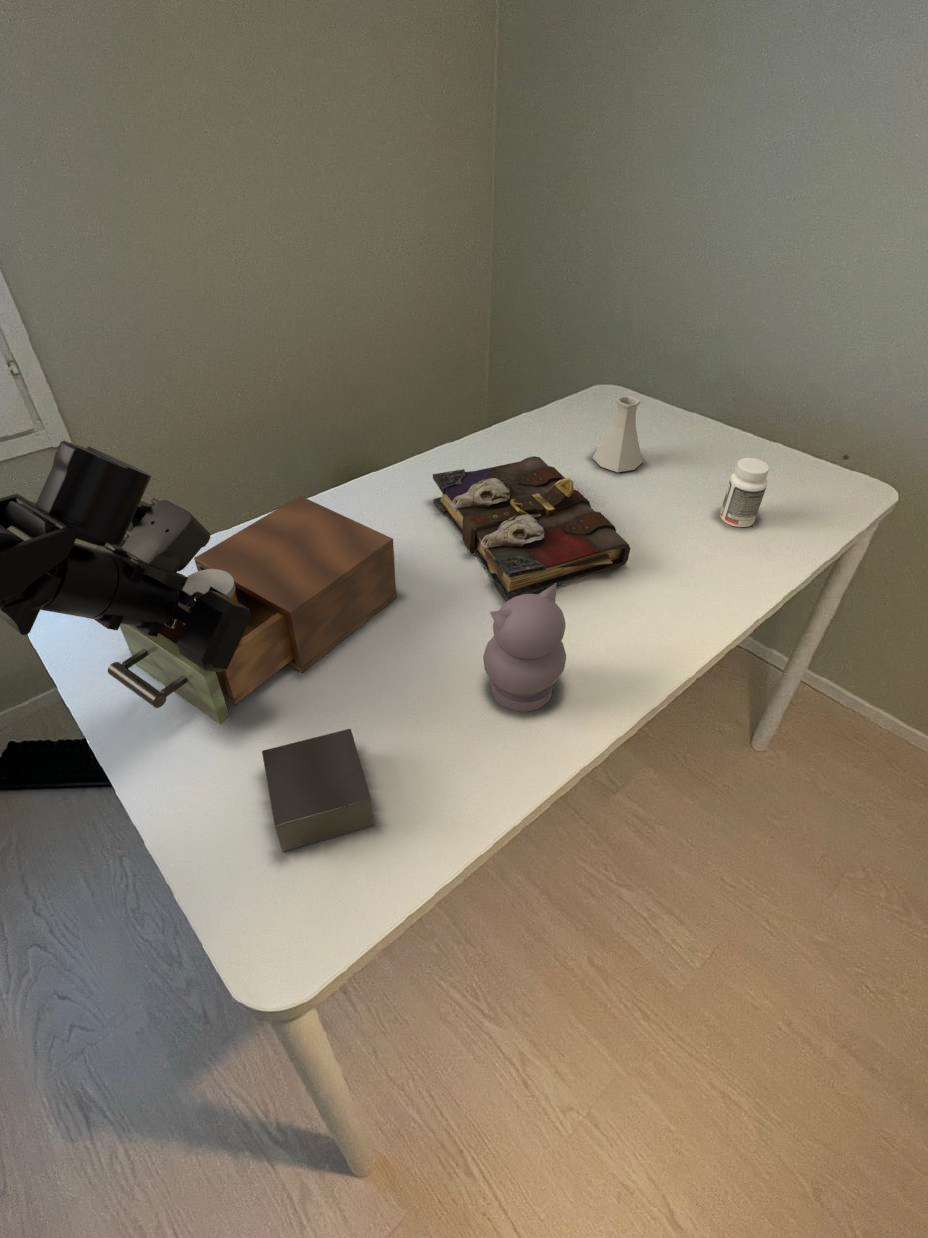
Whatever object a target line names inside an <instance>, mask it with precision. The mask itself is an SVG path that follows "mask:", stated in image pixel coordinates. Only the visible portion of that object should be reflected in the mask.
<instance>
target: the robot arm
mask: <svg viewBox="0 0 928 1238" xmlns="http://www.w3.org/2000/svg"><path fill="white" fill-rule="evenodd" d="M151 479H152V475H151V474H149V473H148V472H146V471H144V470H141V469H140V468H138V467H136V466H134V465H131V464H129V463H127V462H125V461H123V460H121V459H118V458H116V457H114V456H112V455H110V454H107V453H105V452H103V451H100V450H98V449H96V448H94V447H91V446H89V445H88V446H86V447H84V446H83V445H80V444H77V443H75V444H73V443H72V442H69V441H67V440H62V441H60V442H59V444H58V447H57V449H56V451H55V454H54V456H53V463H52V466H51V469H50V471H49V473H48V475H47V478H46V480H45V483H44V485H43V487H42V489H41V491H40V494H39V495H38V497H37V500H36V502H35V501H31V500H29V499H28V498H26V497H24V496H22V495H21V494H19V493H13V494H10V495H6V496H3V497H0V620H2V621H3V622H4V623H6V624H7V625H8V626H10V627H11V628H12V629H13V630H15V632H17V633H19V634H20V635H21V636H27V635H29V634H30V633H31V631H32V629H33V627H34V624H35V622H36V620H37V617H38V616H39V614H40V611H45V612H49V613H50V612H51V613H56V614H63V615H67V616H73V617H74V616H75V617H80V618H85V619H89V620H90V619H91V620H94V621H95V622H96V623H98V624H100V625H102V626H103V627H104V628H106V629H107V630H113V631H119V629H120V625H121V624H125V625H131V626H135V627H136V628H138V629H139V630H141V631H142V632H144V633H145V634H147V635H149V636H156V637H157V635H158V633H159V631H160V628H161V626H162V624H165V625H166V626H168V627H169V628H173V629H174V628H175V627H176V625H177V623H178V620H180V621H181V622H183V624H184V625H185V626H184V629H183V631H182V633H181V635H180V637H179V639H178V642H177V646H178V649H179V651H180V654H181V655H183V656H184V657H186V658H187V659H189V660H190V661H192V662H193V663H195V664H196V665H198V666H199V667H201V668H202V669H204V670H205V671H214V672H222V671H224V670H227V669H228V666H229V664H230V662H231V660H232V658H233V656H234V653H235V651H236V649H237V647H238V645H239V643H240V641H241V638H242V636H243V634H244V632H245V630H246V628H247V625H248V623H249V621H250V619H251V614H250V609H249V608H247V607H245V606H244V605H242V604H240V603H238V602H237V601H235V600H233V599H232V598H230V597H228V596H226V595H225V594H223V593H221V592H220V591H218V590H216V589H214V588H213V587H210V589H209V591H208V592H206V593H205V594H204V593H202V592H195V593H193V594H192V595H191V594H189V593H187V592H186V591H184V590H183V588H184V585H185V583H186V581H187V579H188V576H186V575H184V574H183V573H179V572H181V571H183V570H184V569H185V568H186V567H187V566H188V565H189V564H190V562H191V561H192V560H194V558H195V557H196V555H197V554H198V553H199V551H200V550H201V549H202V548H205V547H206V545H208V543H209V542H210V540H211V533H210V531H208V529H207V528H206V527H205V526H203V524H202V523H201V522H200V521H198V519H197V518H196V517H195V516H194V515H193V514H192V513H191V512H190V511H188V510H186V509H184V508H182V507H181V506H179V505H178V504H175V503H173V502H171V501H170V500H167V499H162V500H158V499H157V498H155V497H152V498H151V500H150V503H148V502H146V501H143V500H142V499H143V496H144V494H145V492H146V490H147V487H148V485H149V483H150V482H151ZM10 527H11V528H13V529H14V530H16V531H17V532H19V533H20V534H22V535H24V536H26V537H27V538H29V539H26V540H24V539H23V538H21V537H20V536H18V535H17V534H15V533H14V532H12V530H9V528H10ZM76 540H79V541H81V542H85V543H88V544H91V545H95V546H96V547H91V546H88V545H84V544H81V543H80V544H79V543H77V542H76ZM183 603H184V604H183ZM185 605H187V606H188V607H190V608H188V607H187V606H185Z"/></svg>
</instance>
